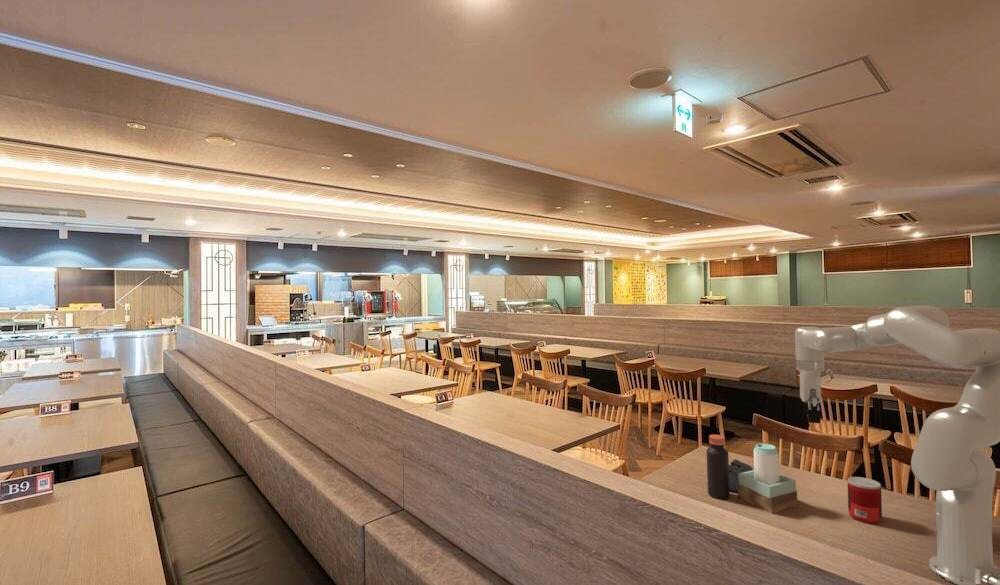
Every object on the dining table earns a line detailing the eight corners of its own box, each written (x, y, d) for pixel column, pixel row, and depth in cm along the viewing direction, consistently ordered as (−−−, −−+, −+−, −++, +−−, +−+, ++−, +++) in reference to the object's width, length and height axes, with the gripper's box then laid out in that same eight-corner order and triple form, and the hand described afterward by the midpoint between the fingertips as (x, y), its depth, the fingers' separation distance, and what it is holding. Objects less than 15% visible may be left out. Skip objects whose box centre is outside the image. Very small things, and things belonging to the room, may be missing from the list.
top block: (795, 491, 148) (795, 480, 148) (769, 498, 144) (769, 487, 144) (763, 477, 159) (763, 467, 159) (738, 483, 155) (738, 473, 155)
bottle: (727, 491, 160) (725, 434, 160) (731, 500, 153) (729, 440, 153) (706, 489, 162) (704, 433, 162) (709, 498, 155) (707, 439, 155)
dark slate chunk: (702, 486, 166) (701, 472, 166) (723, 467, 182) (722, 455, 182) (748, 498, 155) (748, 484, 155) (766, 477, 171) (766, 464, 171)
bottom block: (797, 506, 149) (796, 490, 149) (772, 514, 144) (771, 498, 144) (763, 491, 160) (762, 477, 160) (738, 499, 155) (738, 484, 155)
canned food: (888, 525, 135) (887, 487, 135) (857, 523, 137) (856, 486, 136) (872, 512, 142) (871, 477, 142) (843, 511, 144) (842, 475, 144)
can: (758, 486, 149) (757, 449, 150) (751, 477, 156) (750, 442, 156) (782, 487, 148) (781, 450, 148) (774, 478, 155) (773, 442, 155)
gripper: (793, 361, 158) (795, 411, 158) (798, 369, 143) (801, 424, 143) (820, 361, 154) (822, 413, 154) (828, 370, 139) (830, 427, 139)
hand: (812, 418), depth 148 cm, fingers open, 9 cm apart
